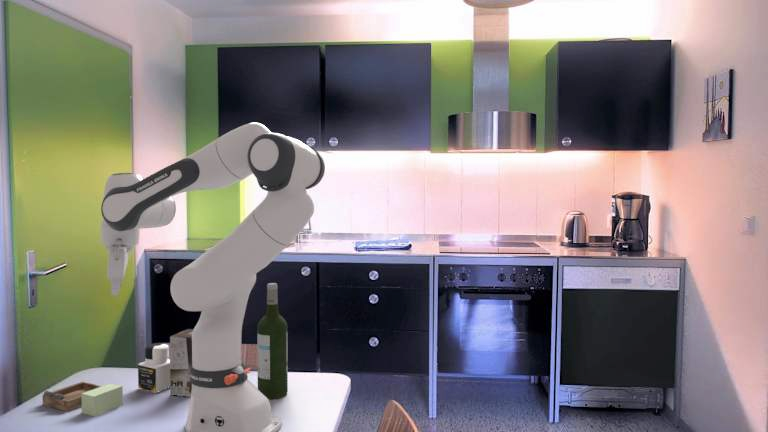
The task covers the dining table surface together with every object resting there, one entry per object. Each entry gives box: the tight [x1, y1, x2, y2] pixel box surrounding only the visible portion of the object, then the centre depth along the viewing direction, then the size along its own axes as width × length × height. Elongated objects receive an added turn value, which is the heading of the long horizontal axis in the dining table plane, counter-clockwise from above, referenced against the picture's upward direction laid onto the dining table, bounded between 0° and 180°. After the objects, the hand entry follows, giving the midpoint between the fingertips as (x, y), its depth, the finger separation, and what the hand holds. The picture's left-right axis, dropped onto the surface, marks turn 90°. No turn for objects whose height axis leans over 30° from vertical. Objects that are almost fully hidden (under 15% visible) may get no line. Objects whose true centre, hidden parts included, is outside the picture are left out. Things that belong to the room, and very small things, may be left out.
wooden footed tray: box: [42, 381, 102, 412], centre depth 142 cm, size 10×12×4 cm
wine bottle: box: [256, 282, 289, 400], centre depth 147 cm, size 8×8×30 cm
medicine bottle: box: [137, 342, 170, 393], centre depth 152 cm, size 7×7×12 cm
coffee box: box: [169, 328, 194, 398], centre depth 149 cm, size 9×6×16 cm
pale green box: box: [81, 383, 124, 417], centre depth 137 cm, size 4×8×5 cm, turn 154°
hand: (116, 290), depth 139 cm, fingers open, 8 cm apart
